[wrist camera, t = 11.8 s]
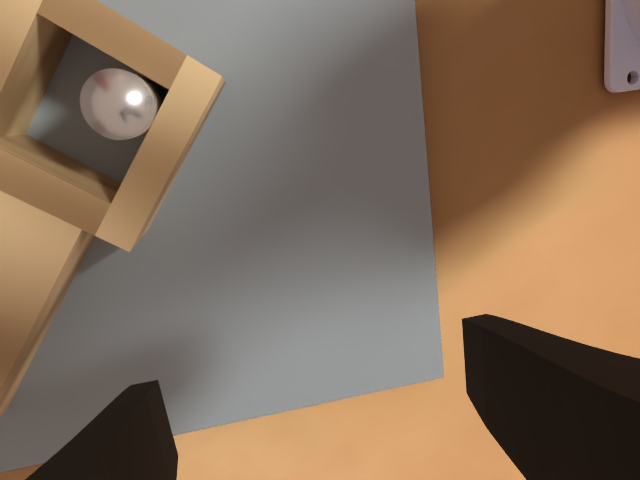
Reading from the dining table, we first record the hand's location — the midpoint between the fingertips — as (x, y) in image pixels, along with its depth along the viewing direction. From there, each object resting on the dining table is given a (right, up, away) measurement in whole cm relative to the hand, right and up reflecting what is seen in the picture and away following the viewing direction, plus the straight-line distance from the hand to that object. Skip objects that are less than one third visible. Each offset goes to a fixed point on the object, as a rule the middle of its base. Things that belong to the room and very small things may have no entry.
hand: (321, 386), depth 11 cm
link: (-10, +4, +6) cm, 12 cm away
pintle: (-6, +8, +6) cm, 12 cm away
